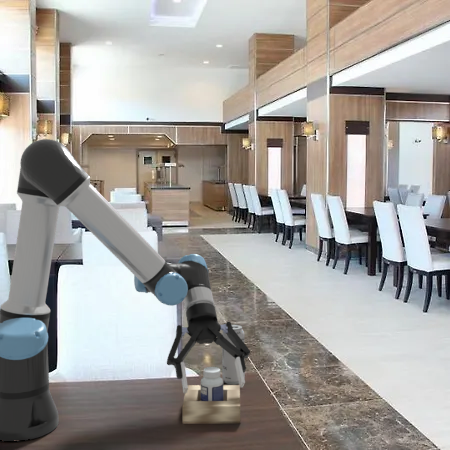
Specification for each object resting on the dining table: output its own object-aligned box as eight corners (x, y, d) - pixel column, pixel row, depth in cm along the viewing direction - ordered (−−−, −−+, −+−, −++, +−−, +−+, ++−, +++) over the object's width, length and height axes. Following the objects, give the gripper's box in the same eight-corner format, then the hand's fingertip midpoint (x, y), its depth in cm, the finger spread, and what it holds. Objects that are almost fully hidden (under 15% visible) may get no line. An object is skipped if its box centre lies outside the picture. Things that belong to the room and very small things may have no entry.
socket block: (182, 423, 131) (182, 406, 131) (187, 400, 144) (186, 385, 144) (240, 423, 131) (240, 406, 131) (239, 400, 144) (239, 385, 144)
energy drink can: (222, 377, 161) (222, 323, 159) (244, 377, 161) (244, 323, 159) (221, 385, 155) (221, 329, 153) (244, 385, 155) (244, 329, 153)
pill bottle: (224, 405, 140) (224, 365, 139) (222, 414, 135) (222, 373, 134) (202, 404, 141) (202, 365, 140) (199, 413, 135) (198, 373, 134)
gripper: (244, 313, 154) (262, 389, 141) (150, 320, 148) (159, 400, 135) (250, 298, 148) (269, 375, 135) (152, 304, 142) (162, 386, 129)
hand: (214, 387), depth 135 cm, fingers open, 13 cm apart
